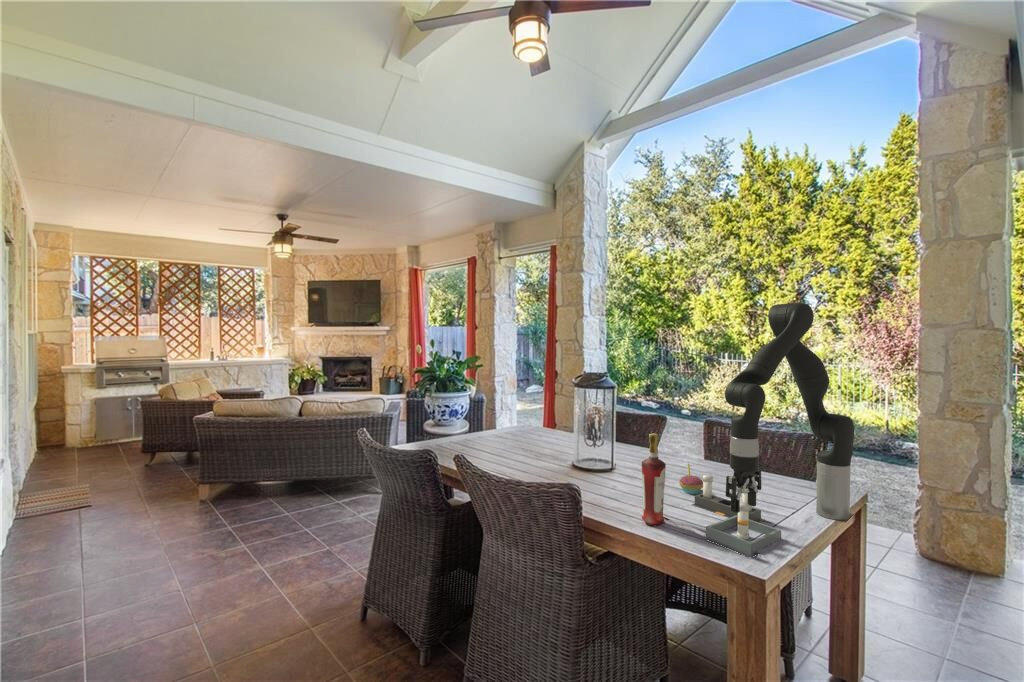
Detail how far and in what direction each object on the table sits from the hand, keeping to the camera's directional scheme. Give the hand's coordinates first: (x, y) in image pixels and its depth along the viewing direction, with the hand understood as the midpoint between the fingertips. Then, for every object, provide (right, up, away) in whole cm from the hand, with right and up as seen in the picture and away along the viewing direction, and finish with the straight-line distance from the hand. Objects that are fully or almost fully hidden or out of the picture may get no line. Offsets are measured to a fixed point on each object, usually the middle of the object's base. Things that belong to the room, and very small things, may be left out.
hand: (743, 508), depth 142 cm
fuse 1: (0, -8, +25) cm, 27 cm away
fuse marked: (0, -9, 0) cm, 9 cm away
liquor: (-22, -10, +14) cm, 28 cm away
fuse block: (+4, -9, +20) cm, 22 cm away
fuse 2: (+7, -8, +14) cm, 18 cm away
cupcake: (-1, -9, +40) cm, 41 cm away
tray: (0, -10, 0) cm, 10 cm away
